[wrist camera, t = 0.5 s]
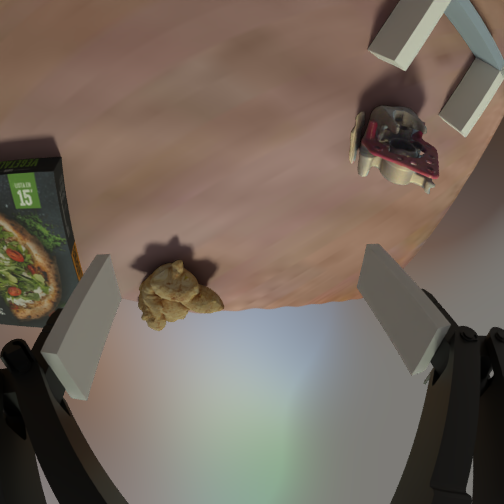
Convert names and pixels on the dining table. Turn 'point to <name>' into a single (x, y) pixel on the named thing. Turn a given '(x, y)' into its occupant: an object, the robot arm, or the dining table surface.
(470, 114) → the cradle
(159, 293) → the ginger root
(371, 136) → the brake caliper
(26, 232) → the pizza box
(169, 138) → the dining table surface
